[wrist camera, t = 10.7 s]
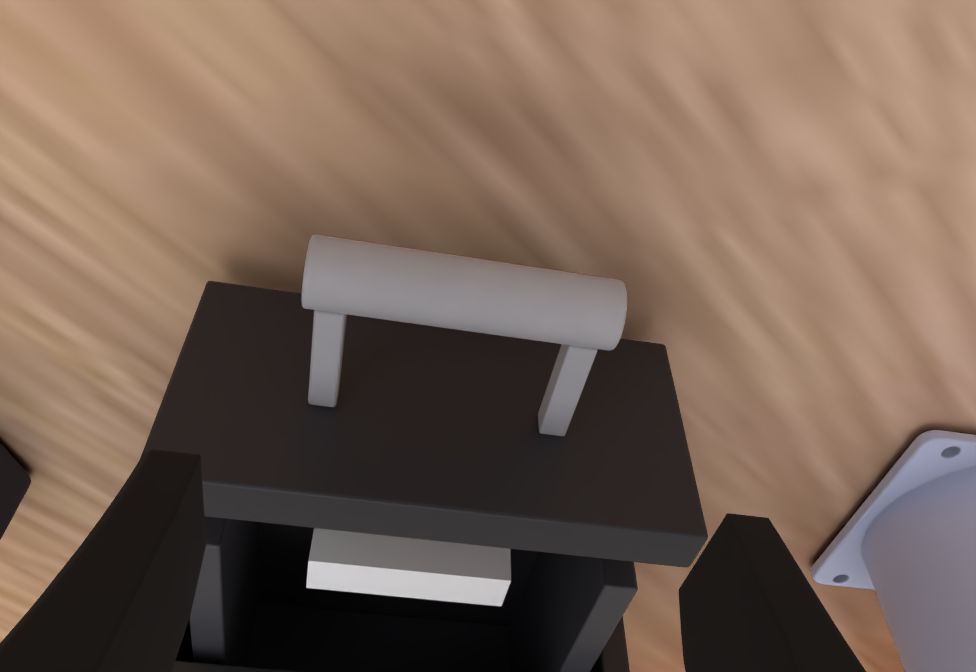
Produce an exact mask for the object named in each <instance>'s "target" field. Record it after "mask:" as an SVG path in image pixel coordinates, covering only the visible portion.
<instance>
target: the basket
mask: <svg viewBox="0 0 976 672" xmlns="http://www.w3.org/2000/svg"><path fill="white" fill-rule="evenodd" d="M626 313H627V291H626V286H625V284H624V282H623V281H621V280H618V279H612V278H605V277H598V276H591V275H585V274H578V273H571V272H565V271H558V270H551V269H545V268H538V267H531V266H525V265H518V264H511V263H504V262H498V261H491V260H484V259H478V258H471V257H464V256H458V255H451V254H444V253H438V252H431V251H424V250H417V249H411V248H404V247H397V246H391V245H384V244H377V243H371V242H364V241H357V240H351V239H344V238H337V237H330V236H324V235H317V234H314V235H312V236H311V238H310V241H309V245H308V249H307V254H306V260H305V266H304V274H303V283H302V294H300V293H293V292H286V291H278V290H271V289H264V288H257V287H250V286H243V285H236V284H229V283H221V282H214V281H208V282H207V284H206V286H205V289H204V292H203V294H202V297H201V300H200V302H199V305H198V307H197V310H196V313H195V315H194V318H193V321H192V323H191V326H190V329H189V331H188V334H187V337H186V339H185V342H184V344H183V347H182V350H181V352H180V355H179V358H178V360H177V363H176V366H175V368H174V371H173V374H172V376H171V379H170V381H169V384H168V387H167V389H166V392H165V395H164V397H163V400H162V403H161V405H160V408H159V411H158V413H157V416H156V419H155V421H154V424H153V426H152V429H151V432H150V434H149V437H148V440H147V442H146V445H145V448H144V450H143V453H142V456H143V454H145V453H146V452H148V451H150V450H152V449H154V450H163V451H172V452H181V453H190V454H199V455H200V456H201V471H202V486H203V501H204V515H205V530H206V548H205V552H204V557H203V561H202V566H201V570H200V575H199V579H198V584H197V588H196V592H195V597H194V601H193V605H192V610H191V614H190V618H189V619H190V629H191V640H192V651H193V661H194V662H197V663H208V664H220V665H232V666H244V667H256V668H268V669H279V670H291V671H303V672H590V671H591V669H592V667H593V666H594V664H595V662H596V661H597V659H598V657H599V655H600V654H601V652H602V650H603V648H604V647H605V645H606V643H607V642H608V640H609V638H610V636H611V635H612V633H613V631H614V629H615V628H616V626H617V624H618V622H619V621H620V619H621V617H622V616H623V614H624V612H625V610H626V609H627V607H628V605H629V603H630V602H631V600H632V598H633V597H634V595H635V593H636V591H637V589H638V588H637V581H636V574H635V567H634V562H640V563H649V564H659V565H668V566H678V567H689V566H690V565H691V564H692V562H693V561H694V559H695V557H696V556H697V554H698V553H699V551H700V550H701V548H702V546H703V545H704V543H705V542H706V540H707V538H708V534H707V530H706V525H705V521H704V516H703V512H702V508H701V503H700V499H699V494H698V490H697V485H696V481H695V476H694V472H693V467H692V463H691V458H690V454H689V449H688V445H687V440H686V436H685V431H684V427H683V422H682V418H681V413H680V409H679V404H678V400H677V396H676V391H675V387H674V382H673V378H672V373H671V369H670V364H669V360H668V355H667V351H666V346H665V345H663V344H656V343H649V342H642V341H635V340H628V339H620V338H621V335H622V332H623V329H624V325H625V320H626ZM142 456H141V458H142ZM141 458H140V459H141ZM314 528H319V529H329V530H338V531H347V532H357V533H366V534H376V535H385V536H395V537H404V538H414V539H423V540H432V541H442V542H451V543H461V544H470V545H480V546H489V547H498V548H508V549H510V555H511V583H510V585H509V588H508V590H507V593H506V596H505V598H504V601H503V603H502V606H491V605H480V604H470V603H459V602H449V601H438V600H428V599H417V598H407V597H397V596H386V595H376V594H365V593H355V592H344V591H334V590H323V589H313V588H306V583H307V571H308V560H309V554H310V548H311V543H312V537H313V531H314Z"/></svg>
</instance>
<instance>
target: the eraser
mask: <svg viewBox="0 0 976 672" xmlns="http://www.w3.org/2000/svg"><path fill="white" fill-rule="evenodd" d="M510 583H511V555H510V549H508V548H498V547H489V546H480V545H470V544H461V543H451V542H442V541H432V540H423V539H414V538H404V537H395V536H385V535H376V534H366V533H357V532H347V531H338V530H329V529H319V528H314V531H313V537H312V543H311V548H310V554H309V560H308V571H307V583H306V588H313V589H323V590H334V591H344V592H355V593H365V594H376V595H386V596H397V597H407V598H417V599H428V600H438V601H449V602H459V603H470V604H480V605H491V606H502V603H503V601H504V598H505V596H506V593H507V590H508V588H509V585H510Z"/></svg>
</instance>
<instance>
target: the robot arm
mask: <svg viewBox="0 0 976 672" xmlns="http://www.w3.org/2000/svg"><path fill="white" fill-rule="evenodd" d="M205 548H206V530H205V515H204V501H203V486H202V471H201V456H200V455H199V454H190V453H181V452H172V451H163V450H154V449H152V450H150V451H148V452H146V453H145V454H143V456H142V458H141V459H140V461H139V462H138V464H137V466H136V467H135V469H134V470H133V472H132V473H131V475H130V477H129V478H128V480H127V481H126V483H125V484H124V486H123V487H122V489H121V490H120V492H119V493H118V494H117V496H116V497H115V499H114V500H113V502H112V503H111V505H110V506H109V507H108V509H107V510H106V512H105V513H104V514H103V516H102V517H101V519H100V520H99V521H98V523H97V524H96V525H95V527H94V528H93V529H92V531H91V532H90V534H89V535H88V536H87V538H86V539H85V540H84V542H83V543H82V544H81V546H80V547H79V548H78V550H77V551H76V552H75V553H74V555H73V556H72V557H71V558H70V560H69V561H68V562H67V563H66V565H65V566H64V567H63V569H62V570H61V571H60V572H59V574H58V575H57V576H56V577H55V579H54V580H53V581H52V582H51V584H50V585H49V586H48V588H47V589H46V590H45V591H44V593H43V594H42V595H41V596H40V598H39V599H38V600H37V601H36V602H35V604H34V605H33V606H32V607H31V608H30V610H29V611H28V612H27V613H26V614H25V615H24V617H23V618H22V619H21V620H20V621H19V622H18V624H17V625H16V626H15V627H14V628H13V629H12V630H11V632H10V633H9V634H8V635H7V636H6V637H5V638H4V640H3V641H2V642H1V643H0V672H172V669H173V666H174V663H175V660H176V657H177V654H178V651H179V648H180V645H181V642H182V639H183V636H184V633H185V630H186V627H187V624H188V621H189V618H190V614H191V610H192V605H193V601H194V597H195V592H196V588H197V584H198V579H199V575H200V570H201V566H202V561H203V557H204V552H205ZM810 572H811V575H812V578H813V581H815V582H816V583H819V584H825V585H835V586H844V587H854V588H863V589H872V590H875V592H876V595H877V597H878V600H879V603H880V605H881V608H882V611H883V614H884V616H885V619H886V622H887V624H888V627H889V630H890V632H891V635H892V638H893V641H894V643H895V646H896V649H897V651H898V654H899V657H900V659H901V662H902V665H903V667H904V670H905V672H976V435H972V434H965V433H957V432H949V431H942V430H930V431H926V432H924V433H922V434H920V435H919V436H918V437H917V438H916V439H915V440H914V441H913V442H912V444H911V445H910V446H909V447H908V449H907V450H906V451H905V452H904V454H903V455H902V456H901V457H900V458H899V460H898V461H897V462H896V463H895V465H894V466H893V467H892V468H891V470H890V471H889V472H888V473H887V474H886V476H885V477H884V478H883V479H882V481H881V482H880V483H879V484H878V486H877V487H876V488H875V489H874V491H873V492H872V493H871V494H870V495H869V497H868V498H867V499H866V500H865V502H864V503H863V504H862V505H861V507H860V508H859V509H858V510H857V511H856V513H855V514H854V515H853V516H852V518H851V519H850V520H849V521H848V523H847V524H846V525H845V526H844V528H843V529H842V530H841V531H840V532H839V534H838V535H837V536H836V537H835V539H834V540H833V541H832V542H831V544H830V545H829V546H828V547H827V548H826V550H825V551H824V552H823V553H822V555H821V556H820V557H819V558H818V560H817V561H816V562H815V563H814V565H813V566H812V567H811V569H810ZM679 604H680V620H681V634H682V646H683V657H684V665H685V670H686V672H866V671H865V669H864V668H863V666H862V665H861V663H860V662H859V660H858V659H857V657H856V656H855V654H854V653H853V651H852V650H851V648H850V647H849V645H848V644H847V642H846V641H845V639H844V638H843V636H842V635H841V633H840V631H839V630H838V628H837V627H836V625H835V624H834V622H833V621H832V619H831V617H830V616H829V614H828V613H827V611H826V610H825V608H824V606H823V605H822V603H821V602H820V600H819V598H818V597H817V595H816V594H815V592H814V590H813V589H812V587H811V586H810V584H809V582H808V581H807V579H806V578H805V576H804V574H803V573H802V571H801V569H800V568H799V566H798V565H797V563H796V561H795V560H794V558H793V556H792V555H791V553H790V552H789V550H788V548H787V547H786V545H785V544H784V542H783V540H782V539H781V537H780V535H779V534H778V532H777V531H776V529H775V528H774V526H773V524H772V523H771V521H770V520H769V518H763V517H754V516H746V515H737V514H728V513H727V515H726V516H725V518H724V519H723V521H722V523H721V524H720V526H719V527H718V529H717V530H716V532H715V534H714V535H713V537H712V538H711V540H710V542H709V543H708V545H707V546H706V548H705V549H704V551H703V553H702V554H701V556H700V557H699V559H698V560H697V562H696V564H695V565H694V567H693V568H692V570H691V571H690V573H689V575H688V576H687V578H686V579H685V581H684V583H683V584H682V586H681V587H680V589H679Z"/></svg>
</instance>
